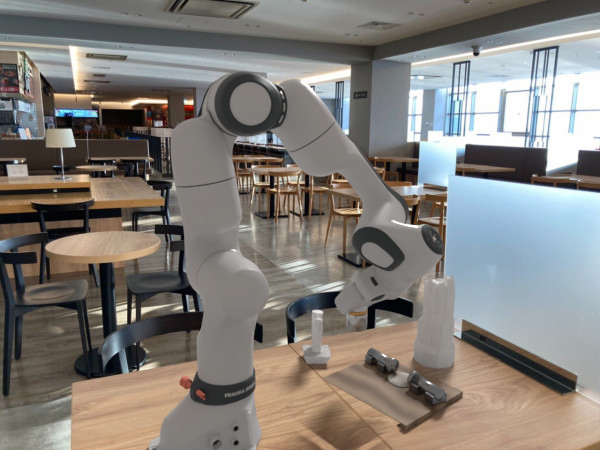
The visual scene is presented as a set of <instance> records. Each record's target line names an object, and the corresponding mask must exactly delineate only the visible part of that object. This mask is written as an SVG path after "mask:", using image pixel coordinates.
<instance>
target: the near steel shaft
mask: <svg viewBox="0 0 600 450" xmlns="http://www.w3.org/2000/svg"><path fill="white" fill-rule="evenodd" d="M417 371H418V370H416V371H412V372H411V373H410V374H409V375H408V378H407V383H408V385H410V390H409V391H410V392H411V393H413V394H414V395H416V396H418V395H421V394H424V393H425V402H427V403H428V404H430V405H431V406H435V405H437V404H440V403H443V402H445V401H446V397H447V392H445V390H443V389H442V388H440V387H438V386H437V385H435V384H433V383H431V382H430V381H428V380H426V379H425V378H423V377H421V374H420V373H419V372H420V371H419V372H417Z"/></svg>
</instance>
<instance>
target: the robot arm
mask: <svg viewBox="0 0 600 450" xmlns="http://www.w3.org/2000/svg"><path fill="white" fill-rule="evenodd" d="M269 131H270V132H271V133H273V135H275V136H276V137H277V138H278V139H279V140H280V142H281V144H282V145H283V148H285V150H286V152H287V153H288V154H289V156H290V157H291V159H292V160H293V162H294V164H295V165H297V167H298V168H299V169H300V170H301V171H302V172H303V173H305V174H306V175H309V176H312V177H316V178H317V177H318V178H320V177H327V176H330V175H333V174H336V173H337V174H340V175H341V176H343V177H344V179H345V180H346V181H347V182H348V183H349V185H350V186H351V187H352V189H353V190H354V191H355V193H357V196H359V198H360V199H361V203H362V205H361V206H362V212H361V215H360V218H359V221H357V224H356V226H355V229H354V232H353V235H352V237H351V245H352V248H353V250H354V252H355V254H357V256H358V257H360V258H361V259H362V260H363V261H365V262H367V263H369V264H370V266H369V267H368V268H366V269H363V270H361V271H359V272H358V273H355V274H354V276H353V277H352V281H351V282H350V283H348V284H347V285H346V286H345V287H344V288H343V289H342V290H341V291H340V292H339V294H337V296H336V297H335V298H334V304H335V306H336V308H337V310H338V312H340V314H342V315H347V314H350V313H351V312H353V311H354V310H356V309H359V308H362V307H365V306H368V307H367V308H370V307H371V306H372V305H374V304H377V303H379V302H382V301H385V300H396V299H398V298H399V297H400V296H401V295H403V294H404V293H405V292H406V291H408V290H409V289H410V288H411V287H412V286H413V284H414V283H415V282H416V281H417V280H420V279H422V278H423V277H425V276H426V275H427V274H428V273H429V272H430V271H432V269H433V268H435V267H436V266H437V264H438V263H439V262H440V261H441V259H442V258H443V256H444V252H445V245H444V241H443V238H442V236H441V235H440V233H439V231H437V230H436V229H435V228H434V227H433V226H432V225H429V224H427V223H423V224H417V225H414V224H406V223H407V221H408V219H409V215H410V207H409V205H408V203H407V201H406V200H405V198H404V197H403V196H402V195H401V194H400V193H398V192H397V191H396V190H394V188H392V187H391V186H389V185H388V184H387V183H386V181H384V179H383V178H382V177H381V175H380V174H379V172H378V171H377V169H376V168H375V167H374V166H373V164H372V163H371V162H370V161H369V159H368V157H367V156H366V155H365V154H364V152H363V151H362V150H361V149H360V148H359V146H358V145H357V144H356V143H355V142H353V140H351V139H350V138H349V136H347V135H346V133H345V132H344V130H343V129H342V127H341V126H340V124H339V122H338V121H337V120H336V118H335V117H334V115H333V113H332V112H331V111H330V109H329V107H327V105H326V103H325V102H324V101H323V99H321V97H320V96H319V95H318V94H317V92H315V90H314V89H313V88H312V87H311V86H310V85H309V84H308V83H307V82H306V81H304V80H302V79H298V78H291V79H286V80H284V81H282V82H280V83H278V84H277V83H275V82H273V81H271V80H270V79H268V78H266V77H263V76H262V75H260V74H258V73H255V72H251V71H237V72H230V73H227V74H224V75H222V76H219V78H217V79H216V80H214V81H213V82H212V83H211V84H209V86H208V88H207V90H206V91H205V93H204V95H203V98H202V101H201V105H200V108H199V111H198V113H197V117H193V118H189V119H185V120H184V121H181V122H180V123H179V124H177V125H176V126H175V127H174V129H173V130H171V134H170V159H171V169H172V177H173V182H174V186H175V191H176V197H177V201H178V207H179V212H180V216H181V220H182V221H181V222H182V227H183V236H184V239H183V240H184V241H183V242H184V257H185V273H186V277H187V280H188V283H189V285H190V286H191V288H192V289H193V290H194V291H195V292H196V294H198V295H199V296H200V298H201V300H202V304H203V317H202V321H201V328H200V330H199V331H198V333H197V335H196V360H197V361H196V362H197V363H196V364H197V365H196V367H197V370H196V372H195V374H194V377H193V379H191V378H189V377H188V376H186V375H183V376H182V377H181V378H180V379H179V381H178V382H179V385H180V386H181V387H182V388H183V389H184V390H189V391H188V393H187V394H186V395H185V396H184V397H183V399H181V401H179V402H178V404H177V405H176V406H175V407H173V408H172V410H170V411H169V413H168V414H166V415H165V417H164V418H163V420H162V422H161V426H160V433H159V435H158V436H157V437H155V438H153V439H152V440H150V441H149V444H148V446H147V447H148V449H147V450H257V446H258V444H259V442H260V441H261V439H262V429H261V425H260V423H259V419H258V416H257V415H258V413H257V409H256V408H257V407H256V402H255V390H256V388H257V387H256V385H257V384H256V380H257V379H256V370H255V369H256V368H255V367H254V338H255V337H254V336H255V330H256V324H257V321H258V319H259V318H258V316H259V314H261V312H262V311H263V310H264V309H265V308H266V306H267V303H268V301H269V299H270V285H269V282H268V280H267V278H266V276H265V275H264V273H263V271H261V269H260V267H258V265H257V264H255V263H254V262H253V261H251V260H250V259H249V258H247V257H245V256H243V254H242V252H241V249H240V241H239V238H240V224H241V222H242V220H243V212H242V211H243V210H242V204H241V199H240V193H239V187H238V182H237V175H236V171H235V166H234V161H233V150H234V149H233V148H234V144H235V143H236V140H238V137H246V138H247V137H248V138H249V137H253V136H258V135H261V134H264V133H266V132H269Z"/></svg>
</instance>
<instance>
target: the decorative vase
mask: <svg viewBox="0 0 600 450" xmlns="http://www.w3.org/2000/svg"><path fill="white" fill-rule="evenodd" d="M423 285H424V288H423V302H422V314H421V316H420V317H419V318H418V320H417V329H416V330H417V333H416V337H415V339H414V344H413V347H414V348H413V359H414V361H415V362H416V363H417V364H419V365H421V366H423V367H425V368H430V369H437V370H441V369H442V370H443V369H448V368H451V367H452V366H453V365H454V364H455V356H456V355H455V354H456V353H455V352H456V344H455V339H454V333H455V318H454V317H455V316H454V312H455V298H456V286H455V285H456V284H455V277H454V276H453V275H450V276H449V275H444V276H443V278H441V277H440V278H438V277H437V278H435V279H433V277H430V278H428V279H425V282H424V284H423Z"/></svg>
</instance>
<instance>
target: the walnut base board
mask: <svg viewBox="0 0 600 450" xmlns="http://www.w3.org/2000/svg"><path fill="white" fill-rule="evenodd" d="M412 371H417V372H419V373H420V374H421V377H423V378H425V379H426V380H428V381H430V382H431V383H433V384H435V385H437V386H438V387H440V388H442V389H443V390H445V392H447V397H446V401H445V402H443V403H440V404H437V405H435V406H431V405H430V404H428V403H427V402H425V393H424V394H421V395H418V396H416V395H414V394H413V393H411V392H410V391H409V390H410V385H408V383H407V378H408V375H409V374H410V373H411V372H412ZM321 379H322V380H323V381H326V382H327V383H328V384H331V385H332V386H334V387H336V388H338V389H339V390H341V391H342V392H345V393H346V394H348V395H350V396H352V397H354V398H356V399H357V400H358V401H361V402H363V403H365V404H366V405H368V406H370V407H372V408H373V409H375V410H377V411H379V412H380V413H382V414H384V415H385V416H387V417H389V418H391V419H393V420H395V421H396V422H398V424H396V427H398V428H400V429H401V430H404V431H408V430H411V429H412V428H413V427H415V426H416V425H418V424H420V423H421V422H423V421H425V420H426V419H427V418H429V417H431V416H432V415H435V414H436V413H437V412H439V411H441V410H443V409H444V408H446V407H447V406H448V405H451V404H452V403H454V402H455V401H457V400H459V399H460V398H462V397H463V393H464V392H463V390H461V389H458V388H456V387H454V386H452V385H450V384H447V383H445V382H444V381H441V380H439V379H436V378H434V377H432V376H430V375H427V374H425V373H423V372H421V371H419V370H416V369H414V368H412V367H410V366H408V365H405V364H403V363H401V362H399V368H398V370H397V371H396V372H395V373H385V374H382V373H380V372H379V371H377V364H376V365H373V366H370V365H368V364H367V363H365V359H364V360H361V361H359V362H357V363H354V364H351V365H349V366H347V367H345V368H342V369H339V370H338V371H334V372H333V373H330V374H327V375H326V376H324V377H321Z"/></svg>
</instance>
